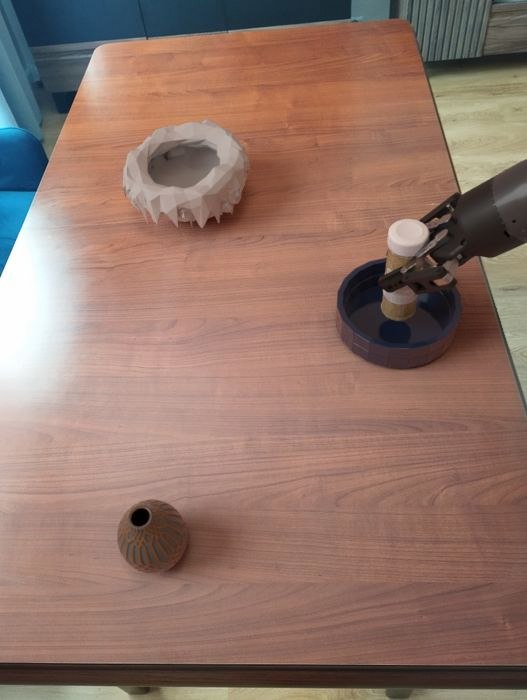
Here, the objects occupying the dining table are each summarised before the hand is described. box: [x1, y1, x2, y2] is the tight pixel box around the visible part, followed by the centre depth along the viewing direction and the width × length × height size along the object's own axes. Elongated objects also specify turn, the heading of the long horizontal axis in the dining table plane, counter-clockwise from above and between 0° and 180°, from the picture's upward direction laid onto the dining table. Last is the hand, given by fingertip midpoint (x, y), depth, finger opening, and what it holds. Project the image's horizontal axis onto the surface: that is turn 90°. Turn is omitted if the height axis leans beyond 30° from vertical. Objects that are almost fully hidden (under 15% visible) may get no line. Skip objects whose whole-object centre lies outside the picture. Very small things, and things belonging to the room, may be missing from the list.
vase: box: [116, 498, 189, 574], centre depth 59 cm, size 7×7×9 cm
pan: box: [335, 257, 463, 369], centre depth 76 cm, size 16×16×4 cm
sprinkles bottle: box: [381, 218, 429, 321], centre depth 71 cm, size 5×5×13 cm
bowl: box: [122, 118, 251, 229], centre depth 93 cm, size 21×20×10 cm
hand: (387, 271), depth 71 cm, fingers closed on sprinkles bottle, 4 cm apart
